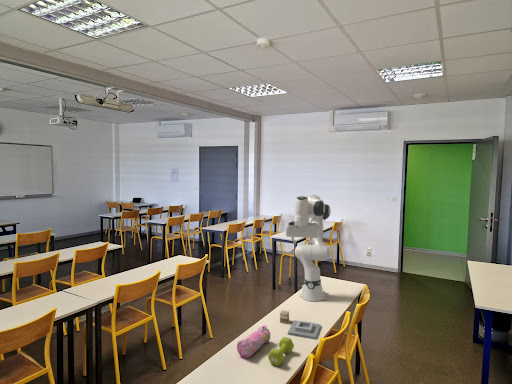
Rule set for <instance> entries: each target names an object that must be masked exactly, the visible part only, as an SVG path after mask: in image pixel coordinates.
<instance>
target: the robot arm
mask: <svg viewBox="0 0 512 384" xmlns="http://www.w3.org/2000/svg"><path fill="white" fill-rule="evenodd" d="M294 212H295V214H294V219H293V220H292V219H291V220H289V221H288V222H287V225H286V229H285V236H286V237H289V238H290V237H291V240H292V242H293V245H296V244H297V240H295V238H307V241H308V242H307V244H298V245H296V247H295V249H294V255H295V257H296V258H297V260H299V261H300V262H301V264H302V266H303V268H304V269H303V270H304V277H303V278H304V279H303V285H302V286H301V287H302V288H301V294H299V297H300V298H302V299H303V300H305V301H308V302H320V301H325V300H326V299H327V298H326V292H325V290H323V285H322V279H321V269H320V267H319V266H318V265H316V264H315V263H314V262H313V261H315V262H316V261H318V262H323V261H324V262H325V261H328V260H329V259H330V257H331V255H332V253H331V250H330V248H329V247H328V246H327V245H326V243H324V240H323V236H324V235H323V234H324V233H323V232H324V222H325V221H326V220H327V219H329V217H330V215H331V212H332V210H331V207H330V205H329V204H326V203H324V200H322V199H321V198H320V196H318V195H316V194H311V195H309V196H304V195H303V196H301V195H300V196H297V197H296V198H295V201H294ZM310 219H311V220H310Z"/></svg>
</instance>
